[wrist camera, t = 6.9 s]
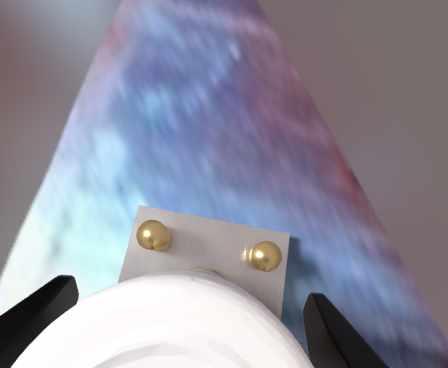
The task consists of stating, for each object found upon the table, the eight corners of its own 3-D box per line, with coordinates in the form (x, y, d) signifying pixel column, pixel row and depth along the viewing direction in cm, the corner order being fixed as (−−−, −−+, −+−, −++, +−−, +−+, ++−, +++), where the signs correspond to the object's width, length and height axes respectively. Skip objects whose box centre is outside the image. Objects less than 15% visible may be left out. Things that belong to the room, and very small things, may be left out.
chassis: (266, 406, 15) (282, 447, 12) (97, 374, 15) (66, 407, 12) (285, 234, 18) (302, 229, 15) (143, 208, 18) (127, 196, 15)
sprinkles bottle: (196, 368, 15) (104, 1099, 2) (144, 304, 16) (-173, 506, 3) (252, 306, 16) (444, 493, 3) (201, 249, 17) (176, 202, 4)
